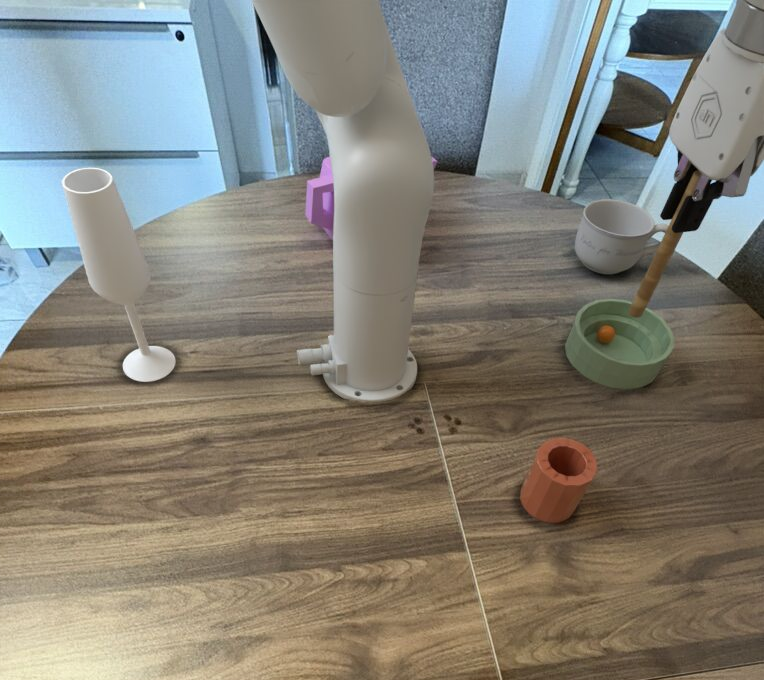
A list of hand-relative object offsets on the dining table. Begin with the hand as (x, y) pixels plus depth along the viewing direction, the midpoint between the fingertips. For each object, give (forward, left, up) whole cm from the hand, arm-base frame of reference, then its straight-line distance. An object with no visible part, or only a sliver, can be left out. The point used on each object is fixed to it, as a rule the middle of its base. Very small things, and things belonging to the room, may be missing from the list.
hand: (678, 223), depth 69 cm
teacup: (+10, +20, -20) cm, 30 cm away
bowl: (0, 0, -20) cm, 20 cm away
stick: (0, 0, -13) cm, 13 cm away
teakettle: (-26, +36, -20) cm, 49 cm away
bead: (0, +3, -18) cm, 19 cm away
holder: (-19, -21, -20) cm, 35 cm away
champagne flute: (-62, +11, -20) cm, 66 cm away
